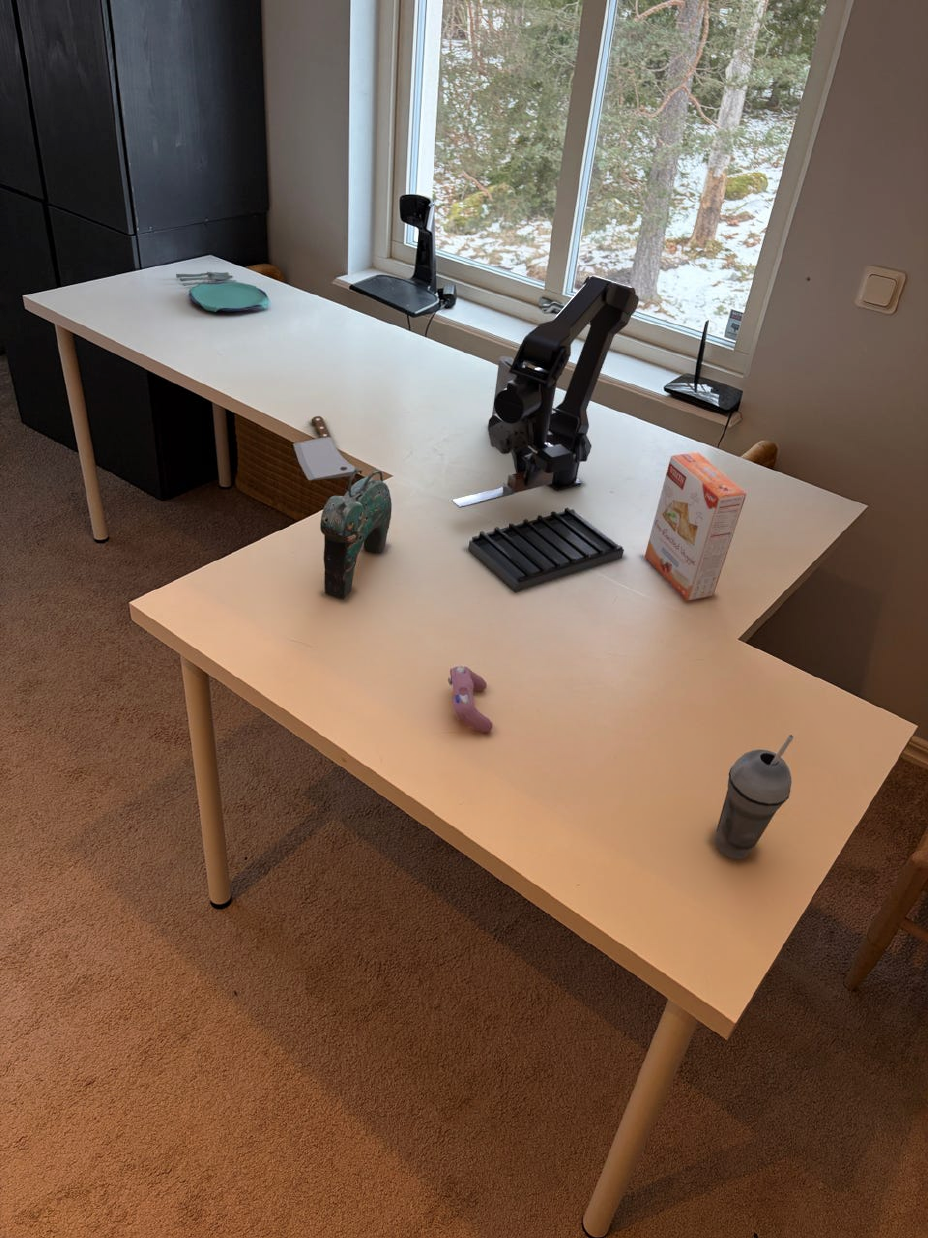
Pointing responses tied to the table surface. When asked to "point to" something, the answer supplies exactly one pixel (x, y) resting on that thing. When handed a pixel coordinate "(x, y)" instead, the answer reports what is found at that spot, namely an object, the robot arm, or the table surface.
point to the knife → (505, 489)
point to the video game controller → (468, 698)
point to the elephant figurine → (353, 529)
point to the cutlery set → (224, 293)
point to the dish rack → (543, 549)
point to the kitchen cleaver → (322, 455)
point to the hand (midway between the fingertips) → (523, 482)
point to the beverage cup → (752, 800)
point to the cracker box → (694, 525)
